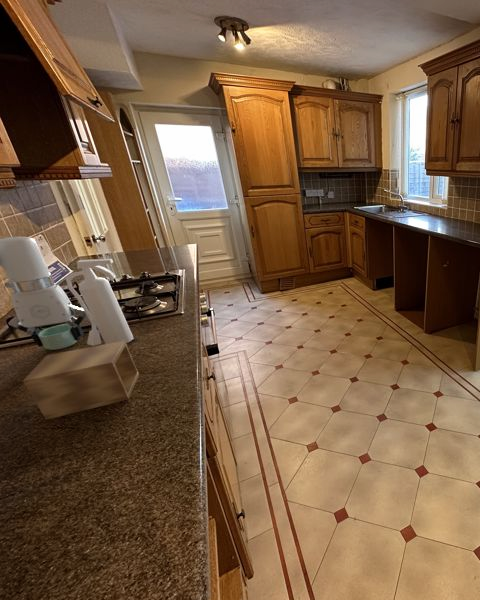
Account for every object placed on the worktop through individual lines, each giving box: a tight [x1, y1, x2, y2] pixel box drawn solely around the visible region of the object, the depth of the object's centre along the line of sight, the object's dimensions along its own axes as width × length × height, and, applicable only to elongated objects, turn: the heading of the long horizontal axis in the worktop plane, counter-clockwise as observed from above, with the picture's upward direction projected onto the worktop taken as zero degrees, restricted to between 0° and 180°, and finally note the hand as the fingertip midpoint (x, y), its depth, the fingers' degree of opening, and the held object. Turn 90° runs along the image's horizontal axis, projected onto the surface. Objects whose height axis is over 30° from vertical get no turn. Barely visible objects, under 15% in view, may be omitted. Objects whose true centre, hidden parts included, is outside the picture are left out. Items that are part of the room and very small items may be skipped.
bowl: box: [38, 323, 79, 351], centre depth 92 cm, size 7×7×5 cm
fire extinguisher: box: [65, 258, 134, 347], centre depth 90 cm, size 7×12×25 cm, turn 118°
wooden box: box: [22, 341, 140, 420], centre depth 72 cm, size 14×10×10 cm
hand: (61, 340), depth 93 cm, fingers closed on bowl, 7 cm apart
